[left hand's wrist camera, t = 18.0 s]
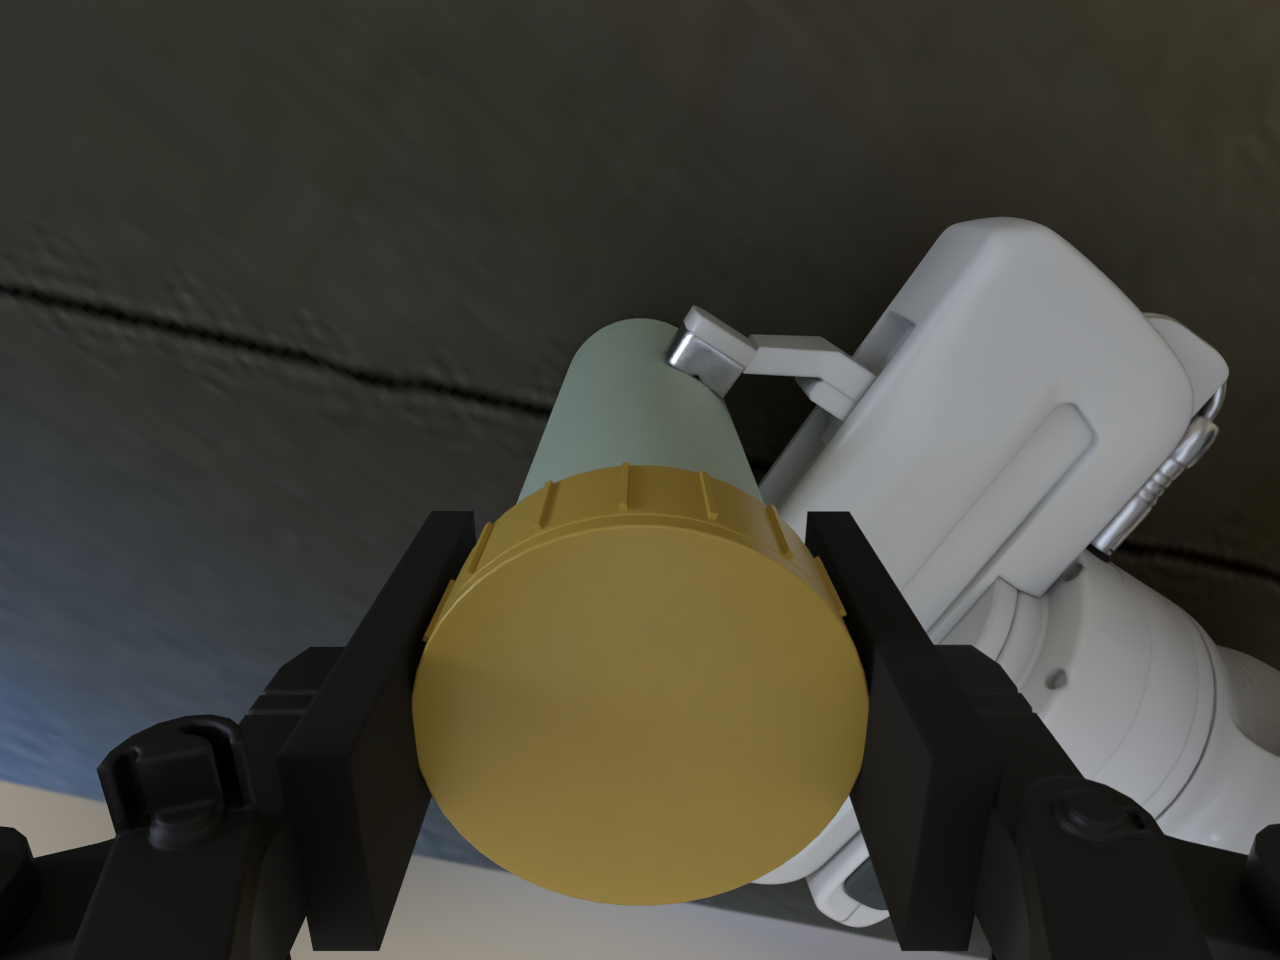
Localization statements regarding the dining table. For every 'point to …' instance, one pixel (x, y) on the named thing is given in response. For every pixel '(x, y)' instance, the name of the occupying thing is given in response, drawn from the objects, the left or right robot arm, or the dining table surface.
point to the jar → (636, 413)
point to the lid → (640, 690)
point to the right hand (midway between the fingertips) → (611, 435)
